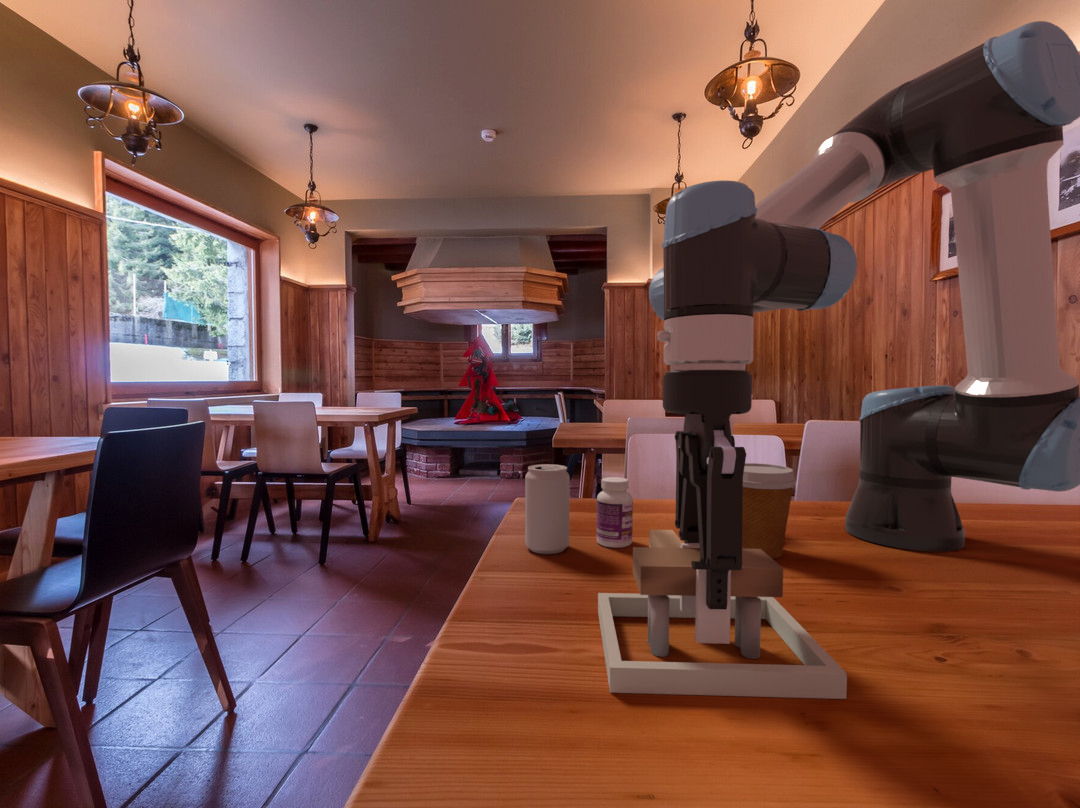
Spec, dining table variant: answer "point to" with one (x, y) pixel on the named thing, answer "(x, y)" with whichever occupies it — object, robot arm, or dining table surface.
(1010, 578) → the dining table surface
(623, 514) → the pill bottle
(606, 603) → the peg frame
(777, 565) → the board
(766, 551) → the disposable coffee cup
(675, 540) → the stand block
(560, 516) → the beverage can
